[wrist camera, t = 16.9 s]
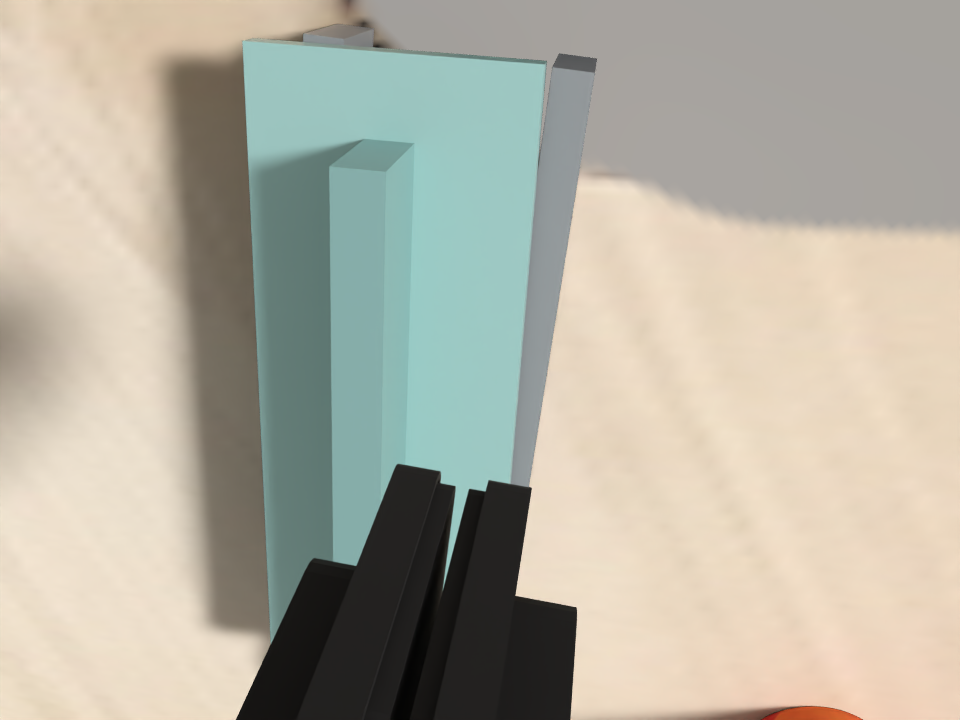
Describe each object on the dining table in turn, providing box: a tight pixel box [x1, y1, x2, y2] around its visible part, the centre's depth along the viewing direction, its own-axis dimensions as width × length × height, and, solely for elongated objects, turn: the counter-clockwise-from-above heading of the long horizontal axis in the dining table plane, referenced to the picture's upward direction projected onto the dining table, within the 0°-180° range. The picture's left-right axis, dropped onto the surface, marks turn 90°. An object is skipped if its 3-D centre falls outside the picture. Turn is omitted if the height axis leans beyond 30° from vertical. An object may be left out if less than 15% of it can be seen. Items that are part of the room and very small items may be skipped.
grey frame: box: [303, 24, 597, 487], centre depth 28 cm, size 22×7×3 cm, turn 174°
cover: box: [243, 38, 547, 643], centre depth 25 cm, size 22×7×4 cm, turn 177°
